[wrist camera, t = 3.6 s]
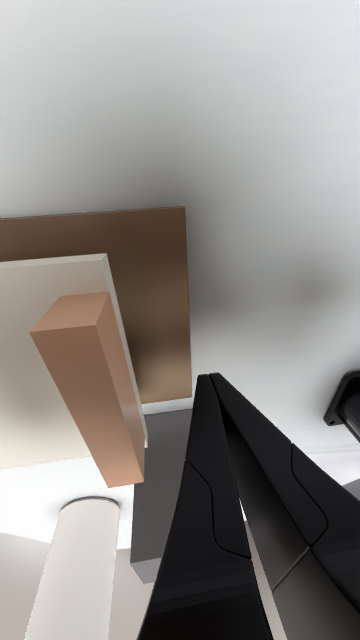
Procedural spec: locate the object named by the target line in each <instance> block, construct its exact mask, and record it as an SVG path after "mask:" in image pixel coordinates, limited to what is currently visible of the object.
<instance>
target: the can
mask: <svg viewBox="0 0 360 640" xmlns="http://www.w3.org/2000/svg"><path fill="white" fill-rule="evenodd" d="M119 516H120V509H119V507H118V505H117V503H116V502H114V501H113V500H110V499H107V498H101V497H89V498H82V499H78V500H75V501H73V502H71V503H69V504H68V505H66V506H65V508H64V509H63V510H62V511H61V512H60V515H59V518H58V521H57V525H56V528H55V532H54V535H53V539H52V542H51V546H50V549H49V553H48V556H47V560H46V563H45V567H44V570H43V574H42V577H41V581H40V585H39V588H38V592H37V595H36V598H35V602H34V606H33V609H32V613H31V616H30V620H29V623H28V627H27V630H26V634H25V637H24V640H108V631H109V622H110V611H111V602H112V590H113V581H114V570H115V559H116V549H117V538H118V528H119Z"/></svg>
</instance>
